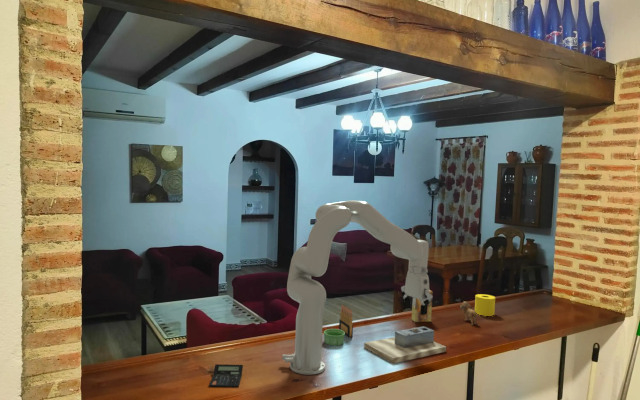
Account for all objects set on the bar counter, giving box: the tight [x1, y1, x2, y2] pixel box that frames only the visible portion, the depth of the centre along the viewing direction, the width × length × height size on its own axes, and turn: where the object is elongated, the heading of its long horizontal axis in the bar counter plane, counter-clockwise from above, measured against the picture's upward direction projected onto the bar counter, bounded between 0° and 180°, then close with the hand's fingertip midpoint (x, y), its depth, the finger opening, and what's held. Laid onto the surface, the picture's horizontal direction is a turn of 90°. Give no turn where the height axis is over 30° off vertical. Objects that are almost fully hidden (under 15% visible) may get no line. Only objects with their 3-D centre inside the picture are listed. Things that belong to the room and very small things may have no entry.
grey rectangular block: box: [394, 325, 435, 348], centre depth 186 cm, size 16×6×5 cm, turn 121°
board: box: [363, 327, 447, 364], centre depth 183 cm, size 28×18×8 cm, turn 121°
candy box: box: [411, 289, 433, 323], centre depth 224 cm, size 9×4×15 cm, turn 103°
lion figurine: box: [459, 300, 479, 327], centre depth 225 cm, size 15×5×9 cm, turn 12°
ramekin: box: [323, 328, 346, 347], centre depth 188 cm, size 9×9×4 cm
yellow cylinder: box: [474, 293, 496, 317], centre depth 241 cm, size 10×10×9 cm
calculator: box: [208, 363, 244, 388], centre depth 149 cm, size 9×12×3 cm
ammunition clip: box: [338, 304, 354, 338], centre depth 200 cm, size 11×2×12 cm, turn 22°
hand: (415, 311), depth 185 cm, fingers open, 9 cm apart
